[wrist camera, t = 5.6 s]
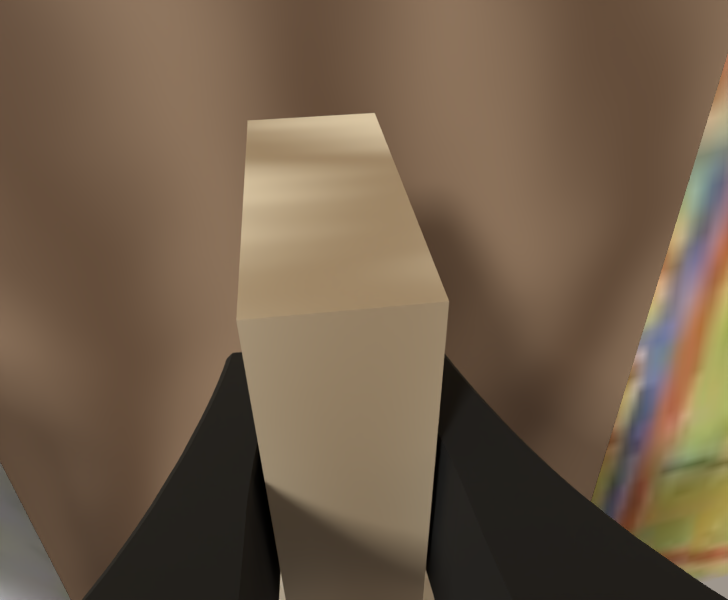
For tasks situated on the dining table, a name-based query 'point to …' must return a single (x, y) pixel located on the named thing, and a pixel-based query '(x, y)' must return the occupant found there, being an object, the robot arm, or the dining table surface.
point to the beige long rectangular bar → (340, 356)
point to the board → (225, 205)
